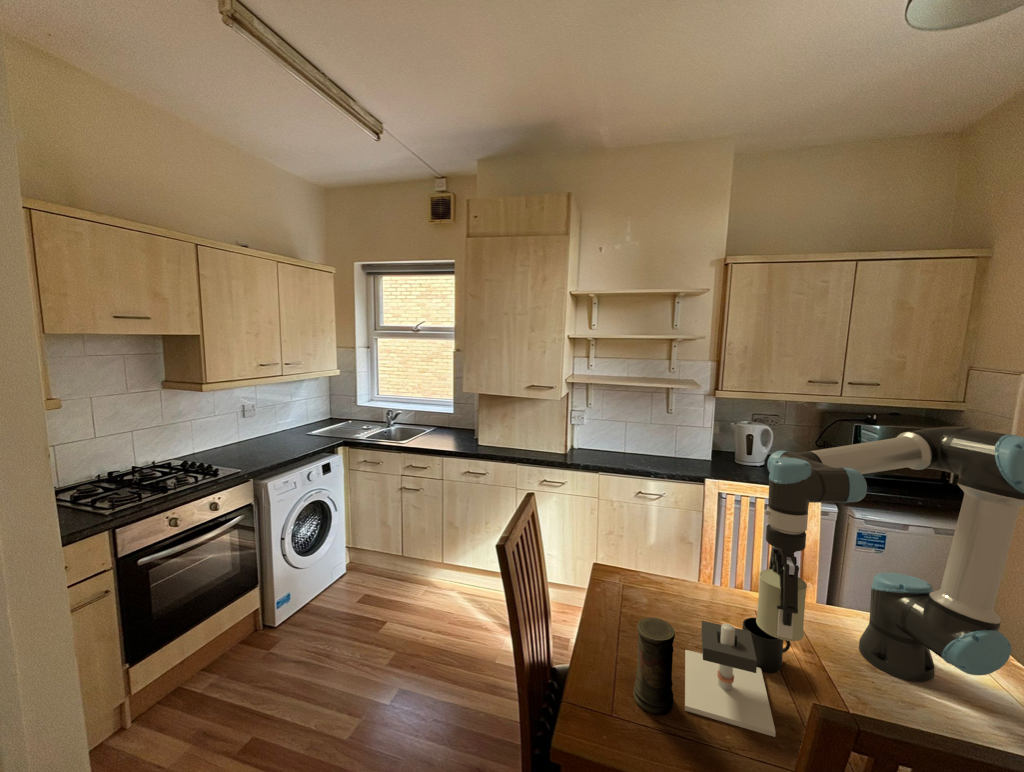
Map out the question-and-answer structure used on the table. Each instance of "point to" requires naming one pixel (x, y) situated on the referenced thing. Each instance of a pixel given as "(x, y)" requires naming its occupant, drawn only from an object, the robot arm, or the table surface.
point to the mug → (766, 647)
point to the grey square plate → (728, 648)
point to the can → (771, 600)
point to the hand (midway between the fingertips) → (779, 623)
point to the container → (654, 666)
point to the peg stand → (727, 691)
